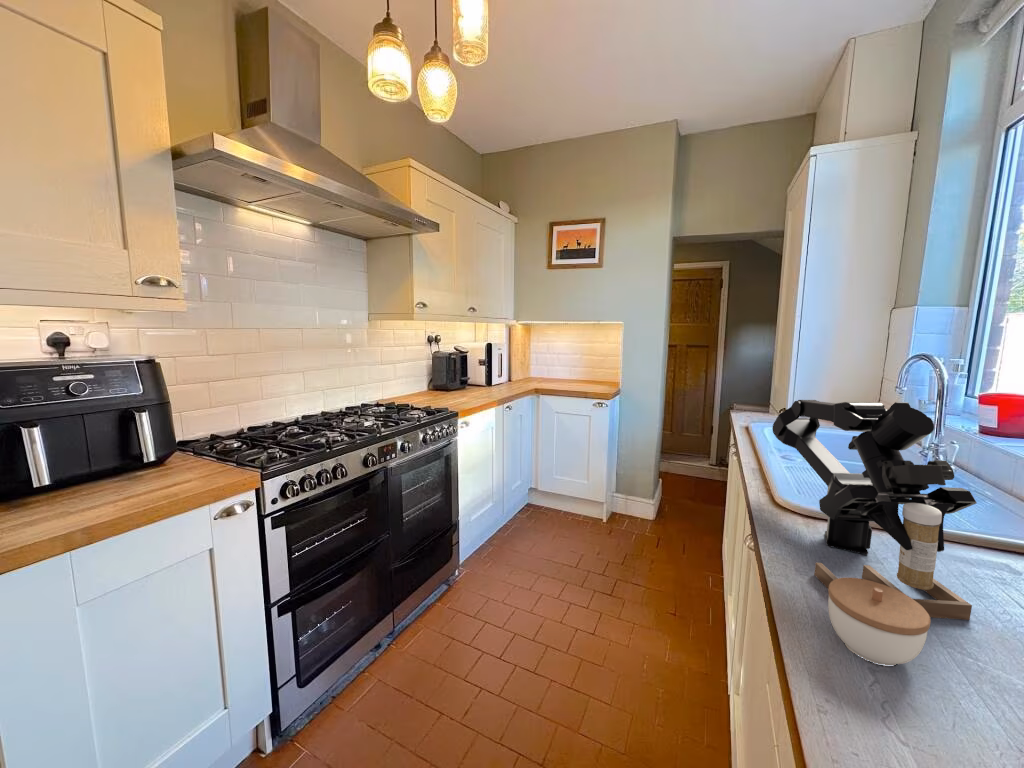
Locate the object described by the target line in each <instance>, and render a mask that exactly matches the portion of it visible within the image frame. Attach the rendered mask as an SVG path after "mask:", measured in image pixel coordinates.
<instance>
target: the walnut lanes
mask: <svg viewBox="0 0 1024 768" xmlns="http://www.w3.org/2000/svg"><path fill="white" fill-rule="evenodd" d="M814 566H815V567H814V575H813V576H814V577H816V579H817V580H818V581H820V582H821V584H822V585H823V586H824V587H825V588H826V589H827V590H828V589H829V584H830V583H831V582H832V581H833V580H835V579H838V577H837V576H836V575H835V574H834V573H833V572H832V571H831V570H830V569H828V567H826V566H825V564H823V563H822V562H815V564H814ZM862 566H863V567H862V574H861V579H865V580H870V581H873V582H877V583H880V584H883V585H886V586H888V587H891V588H893V589H895V590H898V591H900V592H901V593H903V594H905V595H907V594H906V593H904V592H903V591H902V590H901V589H900V588H898V587H897V586H896V585H895V584H893V583H892V582H891V581H889V580H888V579H887V578H886V577H885V576H883V575H882V574H881V573H879V572H878V571H877V570H876V569H874V567H872V566H871V565H868V564H864V565H862ZM933 584H934V586H933V588H932V589H929V590H923V591H924V592H925V593H927V594H928V595H929V596H930V597H932V598H933V599H925V598H923V599H922V598H912V599H913V600H915V601H916V602H917V603H919V604H920V605H921V606H922V607H923V608H924V609H925V610H926V611H927V613H928V614H929V616H930V618H934V619H947V618H948V619H950V620H961V621H962V620H966V621H971V620H970V619H971V615H972V608H973V605H972V604H971V603H969V602H968V601H967V600H965V599H963V598H962V597H961V596H959V595H958V594H957V593H955V592H953V591H952V590H951V589H949V588H948V587H947V586H945V585H943V584H942V583H941V582H939V581H938V580H936V579H935V578H934V577H933Z"/></svg>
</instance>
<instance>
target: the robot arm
mask: <svg viewBox="0 0 1024 768" xmlns="http://www.w3.org/2000/svg"><path fill="white" fill-rule="evenodd" d="M800 417H801V418H800ZM807 417H808V418H807ZM820 420H822V421H827V422H832V423H833V426H835V427H837V428H839V429H840V430H843V431H845V432H861V433H860V434H858V435H852V438H851V441H850V442H849V443H848V447H847V448H848V450H851V451H855V450H856V451H857V452H858V455H859V457H860V460H861V462H862V465H863V467H864V469H865V470H864V471H863V472H860V473H853V472H852V473H851V472H850V471H848V469H846V467H845V466H844V465H843V464H842V463H840V461H839V460H838V459H837V458H836V457H835V456H834V455H833V454H832V453H831V452H830V451H829V450H828V449H827V448H826V446H825V445H823V444H822V443H821V442H820V440H818V439H817V437H816V436H817V435H816V434H817V431H818V430H819V428H820V426H821V425H820V424H821V423H820ZM771 428H772V433H773V435H774V436H775V438H776V439H777V440H779V442H781V443H782V444H783V445H786V446H787V447H790V448H793V449H795V450H797V452H798V453H799V454H800V455H801V456H802V458H803V459H804V460H805V461H806V463H808V465H809V466H810V467H811V468H812V470H814V472H815V473H816V474H817V475H818V477H820V479H821V480H822V481H823V483H824V484H825V485H826V486H827V492H826V493H827V494H826V495H824V496H823V497H822V498H820V499H819V500H818V502H819V503H818V504H819V511H821V512H822V513H823V514H825V515H826V516H827V517H828V518H827V526H826V530H825V531H824V535H825V542H826V543H825V544H826V546H828V547H830V548H836V549H840V550H844V551H848V552H853V553H857V554H861V555H866V556H867V555H868V553H869V552H868V550H869V549H871V542H872V537H873V536H872V534H873V529H872V527H871V526H872V525H870V522H874V523H876V525H877V526H879V527H880V528H882V530H884V531H885V532H886V533H887V534H888V535H889V536H890V537H892V539H894V540H895V542H897V543H898V544H899V545H901V546H902V547H903V548H904V549H905V550H911V549H912V545H911V542H910V539H909V537H908V535H907V532H906V530H905V528H904V526H903V521H902V520H901V517H900V515H899V505H904V504H906V503H920V504H925V505H929V506H932V507H935V508H937V509H938V510H940V511H941V513H942V520H941V524H940V526H939V532H938V547H937V553H941V552H944V551H945V536H944V534H945V533H944V520H945V516H946V515H948V514H949V515H950V514H954V513H957V512H959V511H962V510H964V509H968V508H969V507H971V506H973V505H976V504H978V503H977V500H976V498H975V497H974V496H973V494H972V492H971V490H968V489H966V488H964V487H948V486H947V487H946V485H947V483H946V481H953V480H954V478H955V473H954V469H953V468H952V466H951V465H950V463H949V462H948V460H939V459H937V460H936V459H935V460H928V461H927V464H914V462H913V461H912V460H905V459H904V457H903V456H902V454H901V451H905V450H908V449H909V448H911V447H913V446H914V445H915V444H917V443H918V442H920V441H921V440H923V439H924V438H926V437H928V436H929V435H931V434H932V433H933V432H934V430H935V423H934V422H933V420H932V418H931V417H929V416H927V414H926V413H924V412H922V411H921V410H919V409H917V408H914V407H911V405H910V404H909V402H902V401H901V402H896V401H895V402H894V403H893V404H891V406H890V407H889V408H888V409H886V407H885V405H884V404H883V403H881V402H878V401H876V402H874V401H873V402H870V401H869V402H867V401H861V402H859V401H858V402H857V401H854V402H853V401H844V402H837V403H835V402H826V401H820V400H816V399H798V400H795V401H794V402H793V403H792V405H791V406H790V407H789V408H787V409H786V410H784V411H782V412H780V413H779V414H778V415H777V417H776V419H775V420H774V421H773V424H772V427H771ZM929 485H938V486H941V487H938V488H936V489H934V490H932V491H930V492H928V493H921V491H926V490H928V489H929V488H930V486H929ZM943 486H945V487H943Z"/></svg>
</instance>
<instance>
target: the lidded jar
mask: <svg viewBox="0 0 1024 768" xmlns="http://www.w3.org/2000/svg"><path fill="white" fill-rule="evenodd" d="M837 578H838V577H837ZM827 590H828V592H827V594H828V602H827V606H828V607H827V608H828V609H827V610H828V617H829V619H830V620H829V621H830V622H831V625H832V627H833V630H834V631H835V633H836V635H837V636H838V637H839V639H840V640H841V641H842V642H843V643H845V644H844V645H845V647H846V648H847V649H848V650H849V651H850V652H851V651H852V652H851V653H853V654H854V653H855V654H857V655H859V656H860V657H863V658H864V659H866V660H869V661H871V662H874V663H878V664H885V665H896V664H898V665H902V664H907V663H909V662H911V661H913V660H914V659H915V658H917V656H919V655H920V653H921V652H922V651H923V648H924V647H925V644H926V642H927V638H928V631H929V629H930V627H931V617H930V616H929V614H928V613H927V611H926V610H925V609H924V608H923V607H922V606H921V605H920V604H919V603H917V602H916V601H915V600H913V599H914V598H912V597H910V595H907V594H906V593H904V592H903V593H904V594H903V593H901V592H900V591H898V590H895V589H893V588H891V587H888V586H886V585H883V584H880V583H877V582H873V581H870V580H865V579H863V578H859V577H839V578H838V579H835V580H833V581H832V582H831V583H830V584H829V589H827ZM905 594H906V595H905ZM855 654H854V655H855ZM857 655H856V656H857ZM860 657H859V658H860ZM864 659H863V660H864ZM866 660H865V661H866ZM896 666H897V665H896Z"/></svg>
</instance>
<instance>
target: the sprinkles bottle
mask: <svg viewBox="0 0 1024 768" xmlns="http://www.w3.org/2000/svg"><path fill="white" fill-rule="evenodd" d="M901 511H902V512H901V514H902V515H901V516H902V519H903V520H902V524H903V526H904V528H905V530H906V532H907V535H908V537H909V539H910V542H911V545H912V549H911V550H905V549H904V548H903V547H902V546H901V545H900V544H899V545H900V546H899V553H898V554H899V555H898V568H897V569H898V570H897V573H896V578H897V579H898V580H899V581H900V582H901V584H902V583H903V584H904V585H906V586H907V587H908V586H909V587H911V588H914V589H918V590H922V591H924V590H929V589H932V588H933V586H934V584H933V578H934V573H935V570H936V562H937V555H938V554H937V553H938V552H937V547H938V532H939V526H940V524H941V520H942V513H941V511H940V510H938V509H937V508H935V507H932V506H929V505H925V504H920V503H906V504H902V510H901Z"/></svg>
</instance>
